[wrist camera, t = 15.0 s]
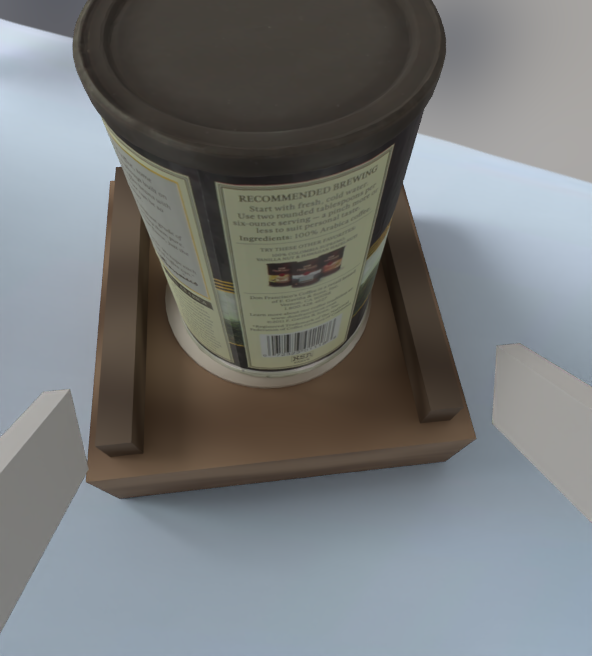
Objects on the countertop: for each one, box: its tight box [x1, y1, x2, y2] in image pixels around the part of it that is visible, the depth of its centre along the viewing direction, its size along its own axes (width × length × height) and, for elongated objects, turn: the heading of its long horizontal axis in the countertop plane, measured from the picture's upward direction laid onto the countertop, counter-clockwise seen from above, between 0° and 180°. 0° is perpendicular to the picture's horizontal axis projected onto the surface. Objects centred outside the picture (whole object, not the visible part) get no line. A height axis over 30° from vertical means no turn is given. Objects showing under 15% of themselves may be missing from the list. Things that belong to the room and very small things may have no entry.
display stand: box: [86, 167, 476, 499], centre depth 28 cm, size 18×18×7 cm
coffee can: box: [73, 0, 446, 378], centre depth 20 cm, size 10×10×14 cm
